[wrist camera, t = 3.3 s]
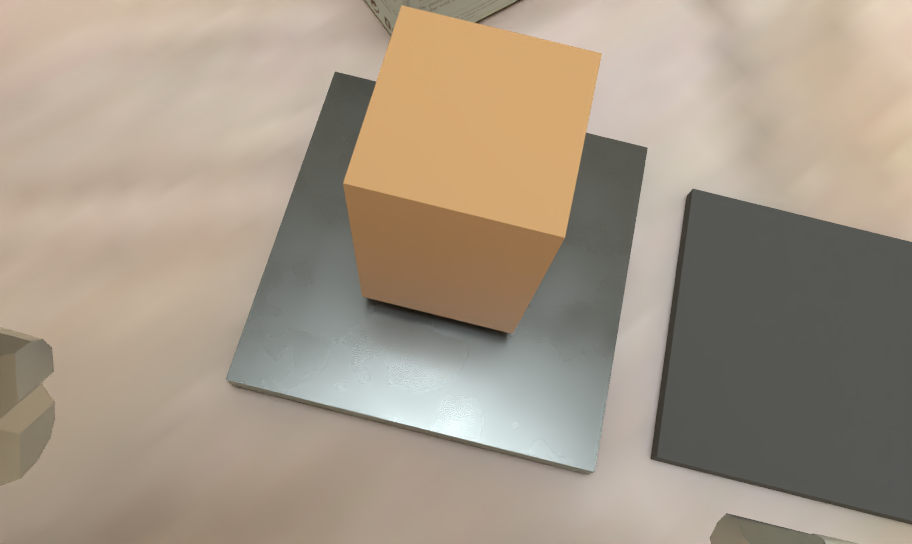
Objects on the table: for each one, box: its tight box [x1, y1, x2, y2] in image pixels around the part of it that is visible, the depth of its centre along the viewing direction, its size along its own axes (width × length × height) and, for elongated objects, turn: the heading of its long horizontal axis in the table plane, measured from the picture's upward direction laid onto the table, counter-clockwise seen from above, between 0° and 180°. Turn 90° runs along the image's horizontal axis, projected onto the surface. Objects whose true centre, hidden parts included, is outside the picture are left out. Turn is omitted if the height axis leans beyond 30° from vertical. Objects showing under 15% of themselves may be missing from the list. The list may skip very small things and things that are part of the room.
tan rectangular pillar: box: [343, 5, 602, 334], centre depth 21 cm, size 5×5×8 cm
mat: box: [651, 189, 912, 524], centre depth 25 cm, size 10×10×1 cm
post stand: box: [226, 72, 647, 474], centre depth 22 cm, size 12×12×9 cm
